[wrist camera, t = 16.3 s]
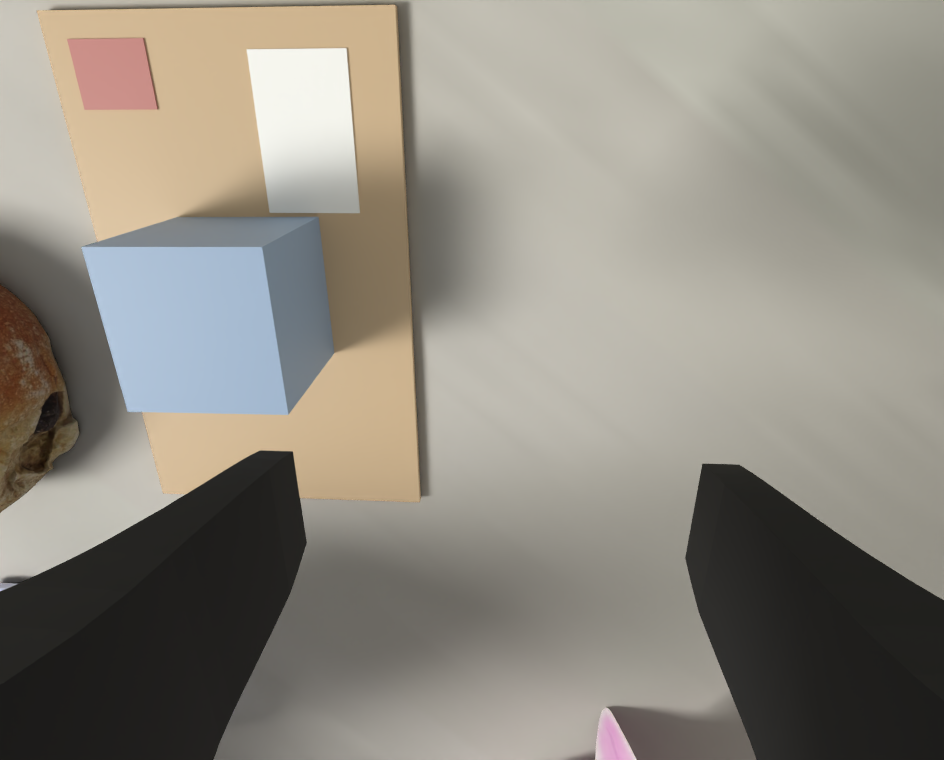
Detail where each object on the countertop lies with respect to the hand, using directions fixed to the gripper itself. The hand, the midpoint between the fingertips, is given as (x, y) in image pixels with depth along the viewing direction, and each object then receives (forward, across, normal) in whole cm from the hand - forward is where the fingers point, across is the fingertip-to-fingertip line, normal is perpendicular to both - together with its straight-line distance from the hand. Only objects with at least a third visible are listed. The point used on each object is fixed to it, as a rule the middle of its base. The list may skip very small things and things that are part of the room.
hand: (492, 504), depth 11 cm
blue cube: (+10, +8, -1) cm, 12 cm away
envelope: (+10, +8, -1) cm, 13 cm away
